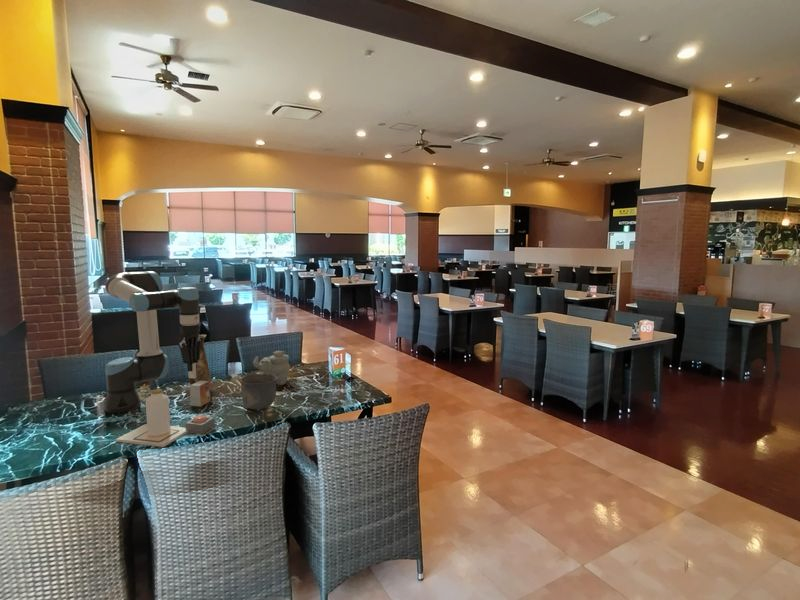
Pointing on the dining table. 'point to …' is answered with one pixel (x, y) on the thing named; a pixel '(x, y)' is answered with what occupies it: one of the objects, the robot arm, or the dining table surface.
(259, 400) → the cup
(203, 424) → the button housing
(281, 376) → the teapot
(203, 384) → the small box
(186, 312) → the robot arm
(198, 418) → the button
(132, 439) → the colouring board
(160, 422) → the potion bottle
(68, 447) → the dining table surface
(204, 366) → the vase
